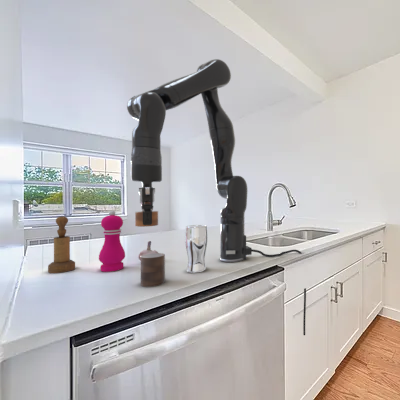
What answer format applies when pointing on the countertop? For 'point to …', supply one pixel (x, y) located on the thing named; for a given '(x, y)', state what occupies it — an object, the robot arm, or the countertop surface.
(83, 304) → the countertop surface
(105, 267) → the pepper mill
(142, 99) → the robot arm
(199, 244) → the beer glass
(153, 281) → the cylinder
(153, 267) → the walnut chip high
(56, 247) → the wooden knobbed stamp
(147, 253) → the garlic bulb
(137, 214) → the brown wooden short cylinder
